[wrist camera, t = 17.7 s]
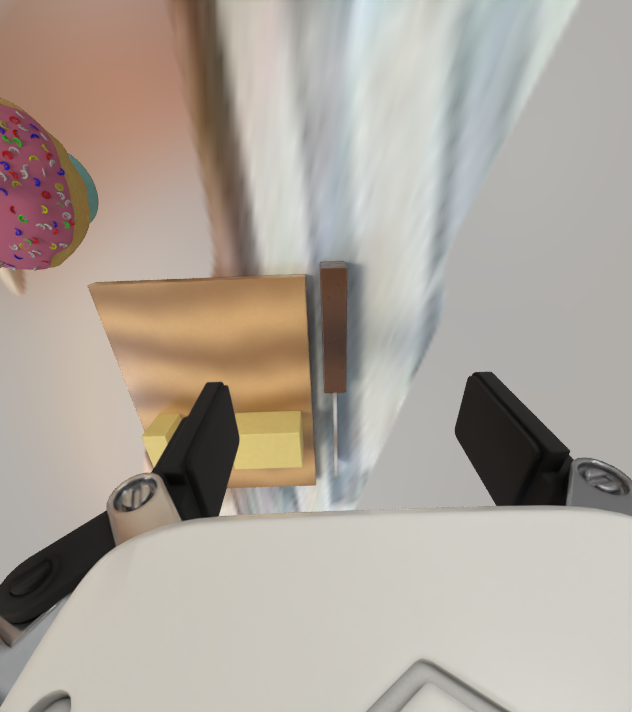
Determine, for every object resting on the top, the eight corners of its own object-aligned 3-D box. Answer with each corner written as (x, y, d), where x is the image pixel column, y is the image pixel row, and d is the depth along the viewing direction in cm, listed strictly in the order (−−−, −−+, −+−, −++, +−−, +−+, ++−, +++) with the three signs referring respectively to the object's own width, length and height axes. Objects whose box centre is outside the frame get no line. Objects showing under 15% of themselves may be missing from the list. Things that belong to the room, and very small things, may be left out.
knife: (319, 261, 22) (320, 268, 20) (343, 260, 22) (347, 267, 20) (326, 458, 31) (327, 479, 29) (343, 458, 31) (345, 478, 29)
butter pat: (158, 414, 27) (140, 436, 24) (179, 413, 27) (165, 436, 24) (169, 446, 29) (155, 471, 26) (190, 446, 29) (177, 470, 26)
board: (95, 282, 22) (86, 285, 22) (305, 273, 22) (304, 276, 21) (171, 482, 33) (167, 490, 32) (316, 477, 32) (316, 485, 31)
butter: (235, 412, 27) (226, 435, 24) (301, 410, 27) (299, 432, 24) (242, 445, 29) (234, 469, 26) (303, 443, 29) (302, 467, 26)
